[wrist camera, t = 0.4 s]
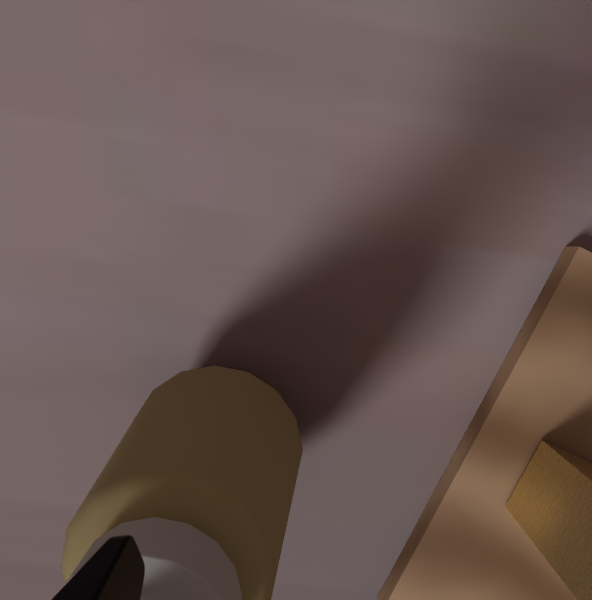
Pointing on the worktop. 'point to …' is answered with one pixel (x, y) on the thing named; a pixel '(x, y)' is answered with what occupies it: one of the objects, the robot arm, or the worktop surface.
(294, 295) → the worktop surface
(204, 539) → the squeeze bottle
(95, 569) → the robot arm
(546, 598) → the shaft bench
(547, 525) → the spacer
